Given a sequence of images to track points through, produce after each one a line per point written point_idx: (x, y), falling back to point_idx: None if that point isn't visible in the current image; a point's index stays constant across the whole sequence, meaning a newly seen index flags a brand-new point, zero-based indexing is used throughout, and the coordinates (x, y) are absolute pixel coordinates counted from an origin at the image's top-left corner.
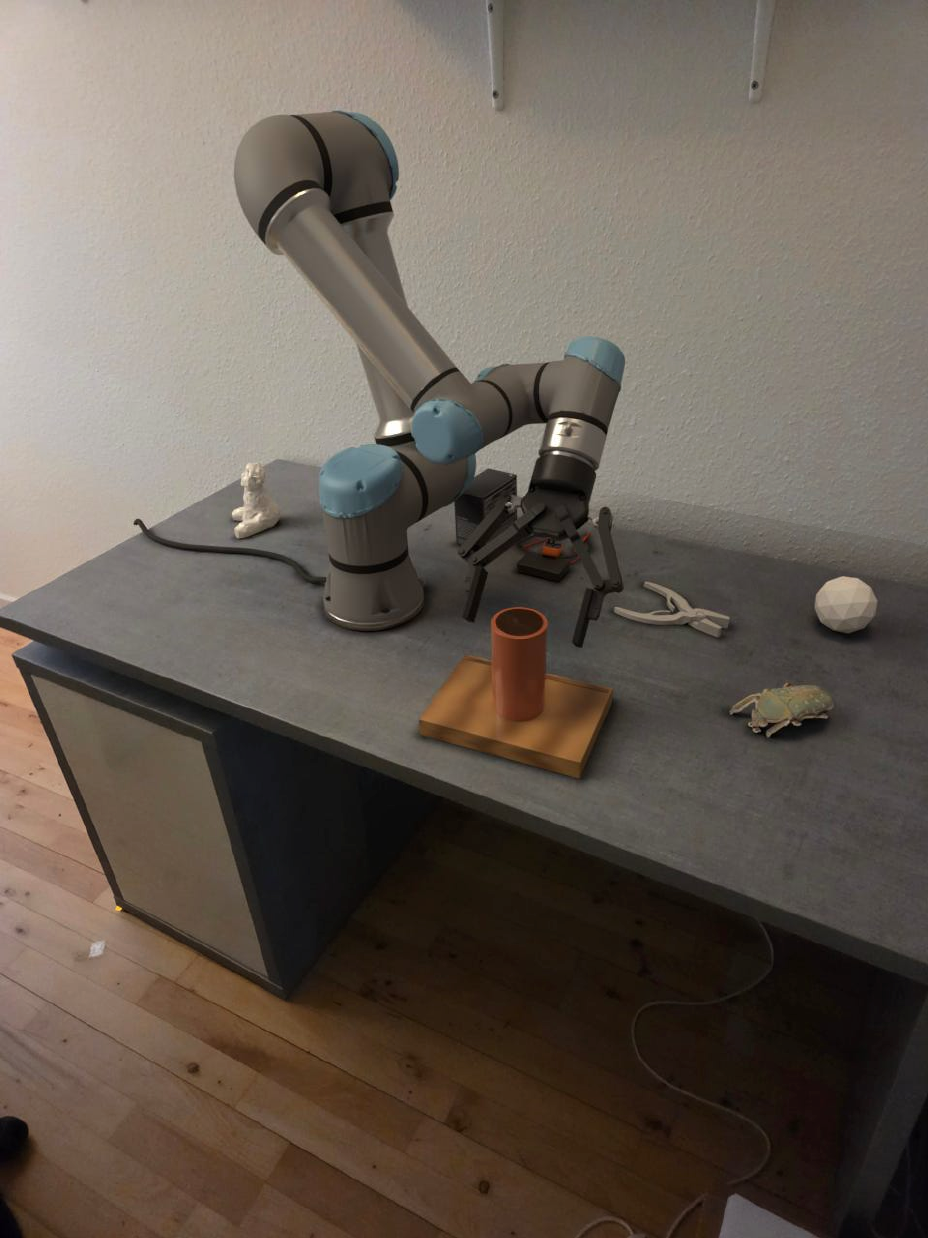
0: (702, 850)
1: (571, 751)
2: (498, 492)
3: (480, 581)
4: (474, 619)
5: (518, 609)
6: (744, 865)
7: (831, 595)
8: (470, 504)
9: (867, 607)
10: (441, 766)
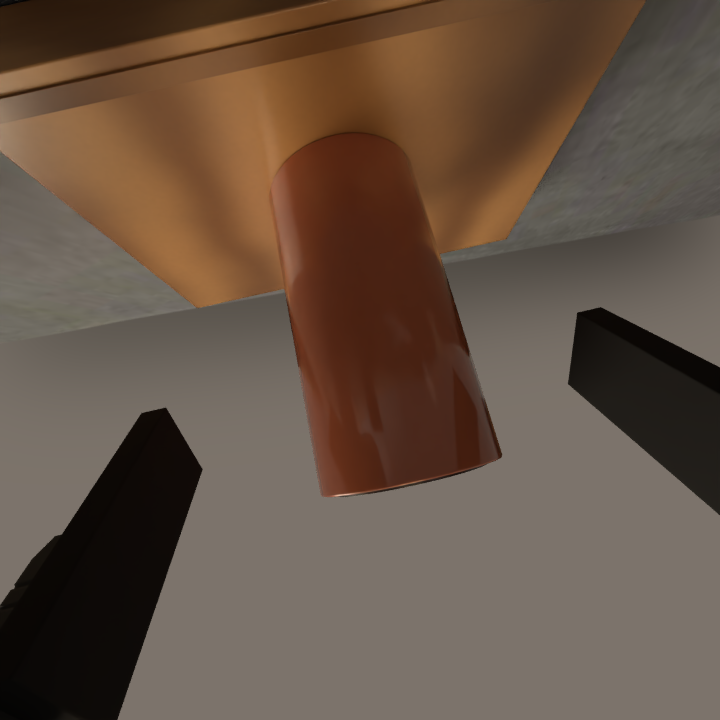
0: (653, 208)
1: (490, 231)
2: None
3: (127, 614)
4: (165, 422)
5: (385, 490)
6: (700, 199)
7: None
8: None
9: None
10: None
